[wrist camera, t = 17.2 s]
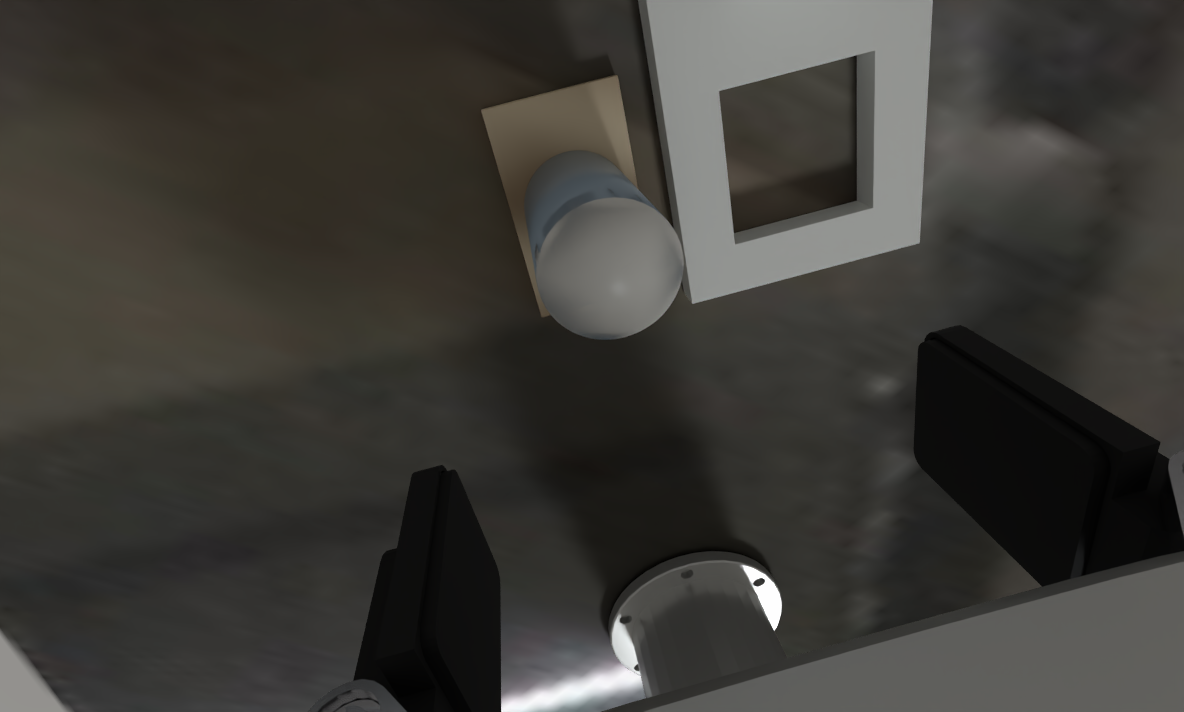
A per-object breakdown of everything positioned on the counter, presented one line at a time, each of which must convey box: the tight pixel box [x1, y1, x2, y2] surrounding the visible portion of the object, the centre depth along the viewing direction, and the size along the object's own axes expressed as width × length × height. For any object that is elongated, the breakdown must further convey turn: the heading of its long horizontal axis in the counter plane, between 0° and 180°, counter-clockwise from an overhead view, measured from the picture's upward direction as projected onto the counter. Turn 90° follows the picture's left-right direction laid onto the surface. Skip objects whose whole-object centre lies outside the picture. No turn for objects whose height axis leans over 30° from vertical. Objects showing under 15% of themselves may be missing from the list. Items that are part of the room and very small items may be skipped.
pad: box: [481, 75, 638, 317], centre depth 28 cm, size 10×6×1 cm, turn 13°
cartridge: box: [524, 150, 684, 340], centre depth 24 cm, size 5×5×9 cm
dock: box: [638, 0, 933, 304], centre depth 24 cm, size 22×12×6 cm, turn 13°
